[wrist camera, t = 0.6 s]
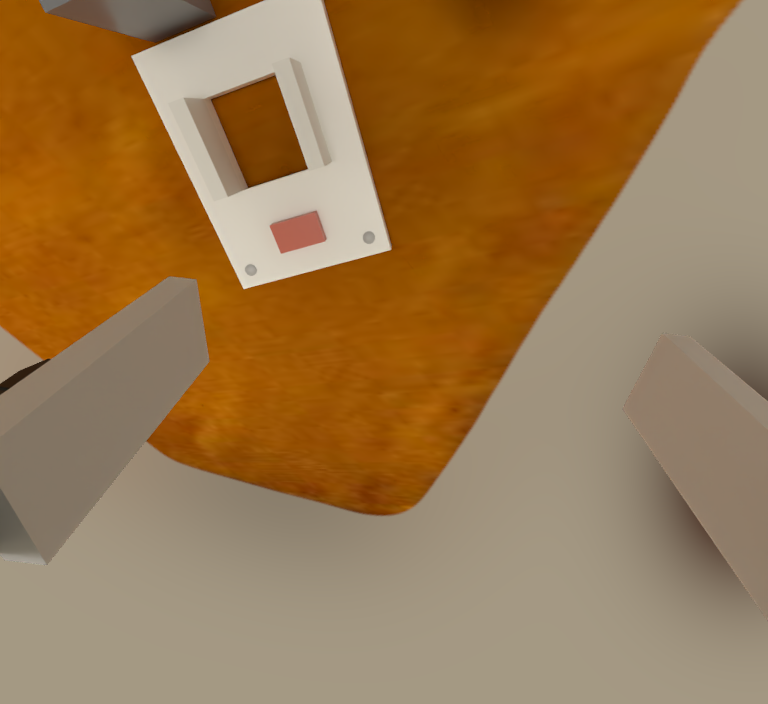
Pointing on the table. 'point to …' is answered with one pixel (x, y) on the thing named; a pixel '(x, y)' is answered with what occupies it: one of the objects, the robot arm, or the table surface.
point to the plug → (135, 15)
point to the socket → (311, 124)
